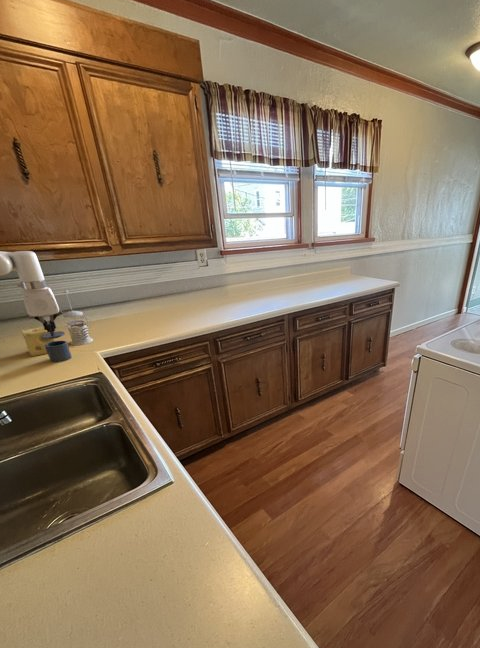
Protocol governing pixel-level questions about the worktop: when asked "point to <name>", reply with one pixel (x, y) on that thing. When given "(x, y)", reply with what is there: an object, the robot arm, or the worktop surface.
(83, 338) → the french press
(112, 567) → the worktop surface
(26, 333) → the cheese
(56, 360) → the pot
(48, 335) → the lid
